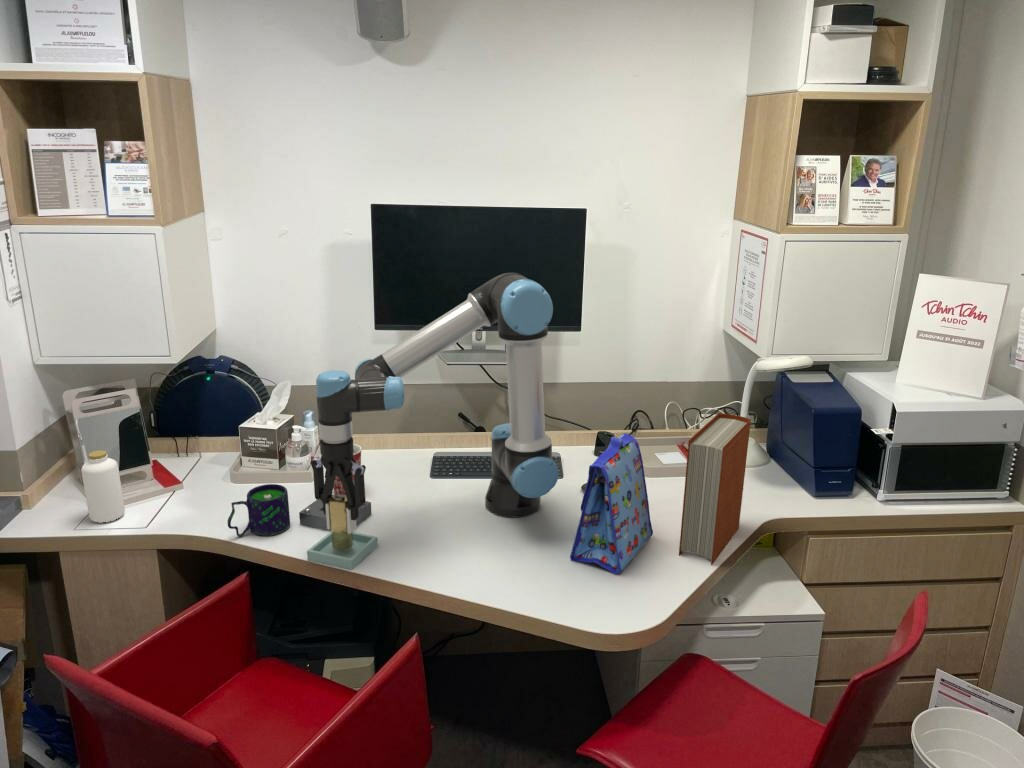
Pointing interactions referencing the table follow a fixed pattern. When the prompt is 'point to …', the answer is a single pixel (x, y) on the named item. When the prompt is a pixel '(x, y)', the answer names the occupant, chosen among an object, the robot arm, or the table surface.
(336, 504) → the brass cylinder
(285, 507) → the mug
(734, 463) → the book
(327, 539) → the tray
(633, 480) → the lunch bag
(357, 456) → the mug
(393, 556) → the table surface
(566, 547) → the table surface
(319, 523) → the housing
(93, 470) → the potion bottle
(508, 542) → the table surface
